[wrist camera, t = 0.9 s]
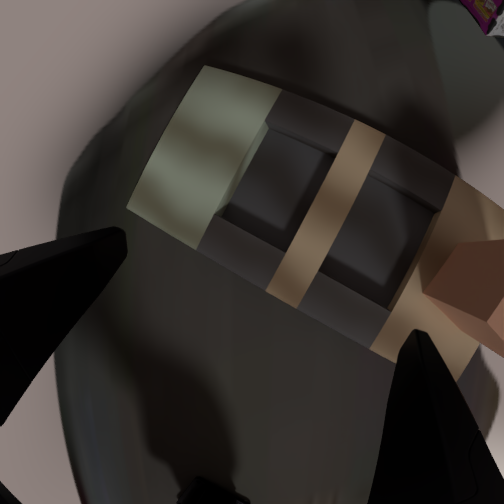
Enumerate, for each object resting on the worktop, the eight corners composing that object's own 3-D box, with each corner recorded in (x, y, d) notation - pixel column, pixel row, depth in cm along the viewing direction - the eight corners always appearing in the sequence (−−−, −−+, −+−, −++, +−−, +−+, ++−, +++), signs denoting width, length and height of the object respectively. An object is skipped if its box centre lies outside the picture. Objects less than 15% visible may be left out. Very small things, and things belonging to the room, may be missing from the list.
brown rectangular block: (460, 330, 19) (532, 376, 9) (422, 293, 19) (486, 322, 10) (495, 282, 18) (578, 298, 8) (458, 243, 19) (537, 236, 9)
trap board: (442, 382, 21) (449, 391, 19) (139, 210, 27) (126, 207, 25) (516, 231, 19) (528, 229, 17) (212, 75, 25) (204, 65, 23)
